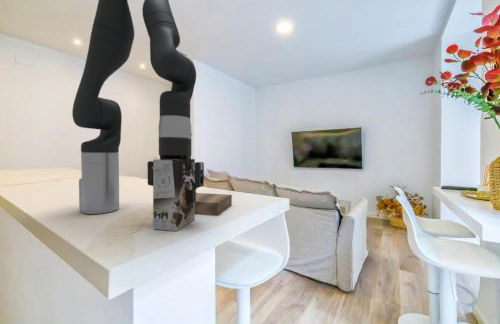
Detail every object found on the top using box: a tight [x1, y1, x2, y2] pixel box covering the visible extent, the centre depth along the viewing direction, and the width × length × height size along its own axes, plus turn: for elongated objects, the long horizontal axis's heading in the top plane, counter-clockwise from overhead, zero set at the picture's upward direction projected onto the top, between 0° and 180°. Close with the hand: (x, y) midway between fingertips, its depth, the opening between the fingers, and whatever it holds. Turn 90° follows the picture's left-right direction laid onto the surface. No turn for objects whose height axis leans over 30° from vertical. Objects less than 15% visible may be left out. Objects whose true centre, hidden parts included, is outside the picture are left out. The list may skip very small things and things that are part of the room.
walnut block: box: [195, 192, 233, 217], centre depth 70 cm, size 13×13×4 cm
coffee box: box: [152, 158, 196, 232], centre depth 54 cm, size 9×6×16 cm
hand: (175, 203), depth 54 cm, fingers open, 7 cm apart
